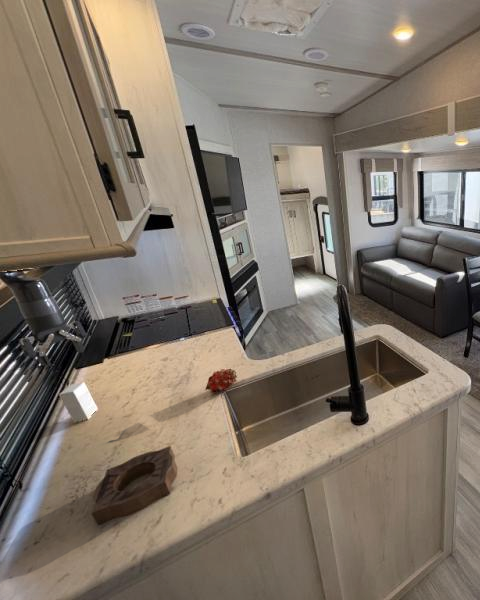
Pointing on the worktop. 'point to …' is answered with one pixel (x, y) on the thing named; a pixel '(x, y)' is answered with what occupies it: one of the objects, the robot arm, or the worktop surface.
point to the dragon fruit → (221, 380)
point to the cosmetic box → (78, 402)
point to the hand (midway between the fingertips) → (64, 358)
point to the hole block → (124, 503)
